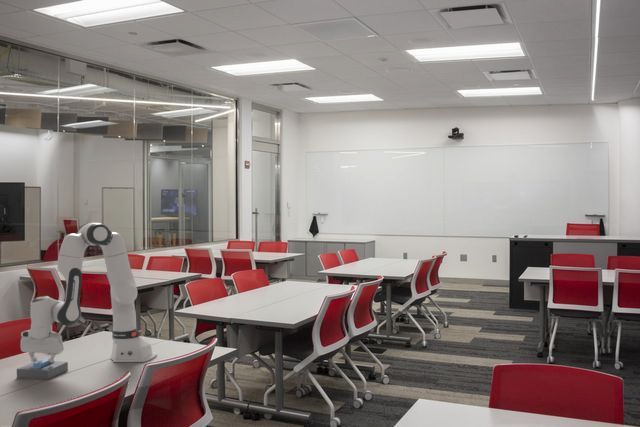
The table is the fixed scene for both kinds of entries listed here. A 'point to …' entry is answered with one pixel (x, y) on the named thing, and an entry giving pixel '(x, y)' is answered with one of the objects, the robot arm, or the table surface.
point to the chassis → (42, 371)
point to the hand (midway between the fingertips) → (42, 361)
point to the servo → (40, 364)
